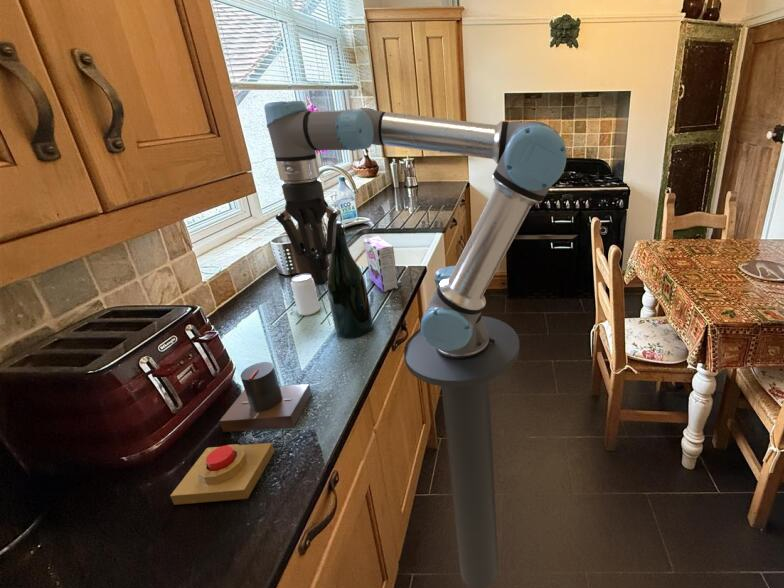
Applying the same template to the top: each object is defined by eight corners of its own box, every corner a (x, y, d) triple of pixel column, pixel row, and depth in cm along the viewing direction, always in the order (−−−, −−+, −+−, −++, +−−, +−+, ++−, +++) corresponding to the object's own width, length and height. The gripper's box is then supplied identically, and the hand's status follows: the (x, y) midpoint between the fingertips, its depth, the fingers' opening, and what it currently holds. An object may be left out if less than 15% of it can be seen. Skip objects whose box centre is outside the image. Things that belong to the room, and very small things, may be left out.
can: (323, 306, 133) (316, 273, 128) (314, 316, 127) (306, 281, 122) (304, 306, 133) (296, 273, 128) (294, 316, 127) (285, 281, 122)
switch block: (275, 451, 78) (270, 435, 76) (247, 498, 69) (241, 481, 67) (210, 456, 77) (204, 440, 76) (173, 505, 68) (166, 488, 66)
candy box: (369, 280, 151) (363, 238, 145) (384, 275, 155) (379, 235, 149) (383, 292, 141) (376, 249, 135) (399, 288, 144) (393, 245, 138)
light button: (240, 451, 74) (237, 444, 73) (227, 470, 70) (224, 462, 69) (217, 453, 73) (214, 446, 73) (203, 472, 70) (200, 464, 69)
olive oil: (300, 288, 146) (284, 222, 137) (299, 277, 155) (285, 214, 145) (331, 281, 150) (318, 217, 141) (329, 272, 159) (317, 210, 150)
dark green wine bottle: (373, 335, 116) (354, 225, 104) (334, 341, 113) (310, 230, 101) (373, 317, 125) (356, 215, 113) (337, 323, 122) (315, 219, 110)
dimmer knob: (259, 392, 89) (249, 361, 86) (287, 390, 90) (278, 359, 87) (244, 412, 84) (234, 379, 80) (274, 410, 84) (265, 377, 81)
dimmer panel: (312, 394, 93) (309, 383, 92) (293, 427, 83) (289, 415, 82) (249, 398, 92) (245, 387, 91) (222, 432, 82) (218, 420, 81)
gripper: (259, 184, 80) (286, 291, 88) (327, 182, 81) (347, 287, 89) (276, 177, 87) (300, 277, 95) (338, 175, 88) (356, 274, 96)
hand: (323, 282), depth 92 cm, fingers closed
